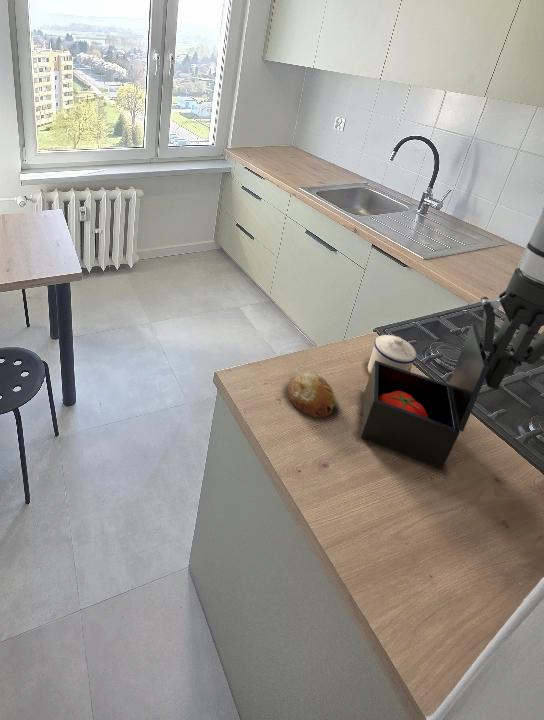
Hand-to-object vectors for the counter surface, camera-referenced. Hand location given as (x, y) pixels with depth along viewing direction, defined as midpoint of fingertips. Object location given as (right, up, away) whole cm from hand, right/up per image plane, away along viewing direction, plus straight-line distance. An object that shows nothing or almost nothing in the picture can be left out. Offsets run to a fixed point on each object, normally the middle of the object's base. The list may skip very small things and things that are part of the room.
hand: (490, 382), depth 78 cm
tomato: (-11, -15, +12) cm, 22 cm away
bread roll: (-27, -12, +19) cm, 35 cm away
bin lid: (-4, +1, +2) cm, 4 cm away
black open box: (-10, -16, +12) cm, 22 cm away
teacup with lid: (-5, -9, +28) cm, 30 cm away
